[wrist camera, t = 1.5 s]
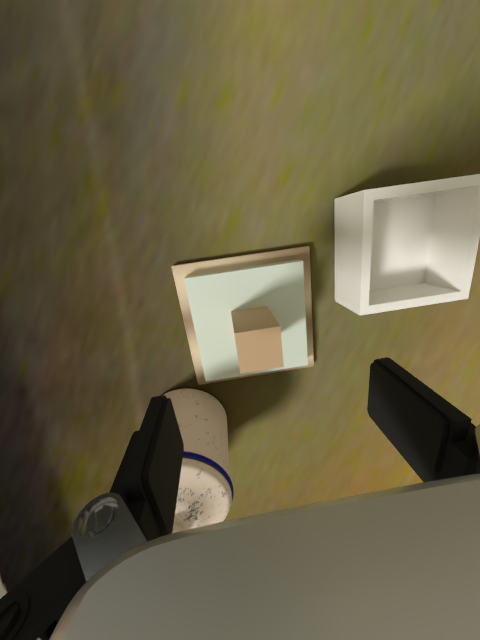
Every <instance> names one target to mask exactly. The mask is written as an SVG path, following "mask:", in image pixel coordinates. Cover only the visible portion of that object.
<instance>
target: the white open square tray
mask: <svg viewBox="0 0 480 640" xmlns="http://www.w3.org/2000/svg"><path fill="white" fill-rule="evenodd" d="M479 238H480V174H475V175H468V176H461V177H454V178H446V179H439V180H432V181H425V182H418V183H411V184H403V185H396V186H389V187H382V188H375V189H368V190H362V191H359V192H356V193H352V194H349V195H345V196H342V197H339V198H335V301H336V302H338V303H339V304H341V305H343V306H344V307H346V308H348V309H350V310H351V311H353V312H355V313H356V314H358V315H366V314H372V313H379V312H385V311H391V310H398V309H404V308H411V307H417V306H423V305H430V304H436V303H443V302H449V301H455V300H462V299H468V296H469V291H470V286H471V280H472V275H473V270H474V265H475V259H476V254H477V249H478V243H479Z"/></svg>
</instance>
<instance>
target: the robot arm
mask: <svg viewBox="0 0 480 640" xmlns="http://www.w3.org/2000/svg"><path fill="white" fill-rule="evenodd" d="M367 409H368V414H369V416H370V417H371V419H372V420H373V421H374V422H375V423H376V425H377V426H378V427H379V428H380V430H381V431H382V432H383V433H384V434H385V436H386V437H387V438H388V439H389V441H390V442H391V443H392V444H393V445H394V447H395V448H396V449H397V450H398V451H399V453H400V454H401V455H402V456H403V458H404V459H405V460H406V461H407V462H408V464H409V465H410V466H411V467H412V469H413V470H414V471H415V472H416V473H417V475H418V476H419V477H420V478H421V480H422V481H423V482H424V483H419V484H414V485H408V486H403V487H397V488H392V489H387V490H381V491H376V492H371V493H365V494H360V495H355V496H350V497H345V498H339V499H334V500H329V501H324V502H319V503H314V504H308V505H303V506H298V507H293V508H288V509H283V510H278V511H273V512H268V513H263V514H258V515H253V516H248V517H243V518H238V519H233V520H228V521H223V522H219V523H214V524H210V525H205V526H201V527H196V528H191V529H187V530H183V531H179V532H175V533H172V531H173V524H174V517H175V510H176V503H177V495H178V488H179V481H180V474H181V467H182V459H183V452H184V444H183V440H182V436H181V433H180V429H179V426H178V422H177V419H176V415H175V412H174V408H173V405H172V401H171V399H170V398H167V397H166V396H165V395H163V396H157V397H152V398H151V400H150V403H149V406H148V409H147V411H146V414H145V417H144V419H143V422H142V425H141V427H140V430H139V431H135V432H134V433H133V435H132V437H131V440H130V442H129V445H128V447H127V450H126V452H125V455H124V457H123V460H122V462H121V465H120V467H119V470H118V472H117V475H116V477H115V480H114V482H113V485H112V487H111V490H110V492H109V493H105V494H102V495H100V496H98V497H96V498H95V499H93V500H92V501H90V502H89V503H88V504H87V505H86V506H85V507H84V508H83V509H82V510H81V512H80V513H79V514H78V516H77V518H76V520H75V521H74V524H73V528H72V537H71V538H70V539H68V540H67V541H66V542H65V543H64V544H63V545H62V546H60V547H59V548H58V549H57V550H56V551H55V552H54V553H52V554H51V555H50V556H49V557H48V558H47V559H46V560H44V561H43V562H42V563H41V564H40V565H39V566H38V567H36V568H35V569H34V570H33V571H32V572H31V573H30V574H28V575H27V576H26V577H25V578H24V579H23V580H22V581H20V582H19V583H18V584H17V585H16V586H15V587H14V588H12V589H11V590H10V591H9V592H8V593H7V594H6V595H4V596H3V597H2V598H1V599H0V640H480V425H478V426H477V427H476V426H474V425H473V424H472V423H471V420H472V419H470V418H469V417H468V416H466V415H465V414H464V413H462V412H461V411H460V410H458V409H457V408H456V407H454V406H453V405H452V404H450V403H449V402H448V401H446V400H445V399H444V398H442V397H441V396H440V395H438V394H437V393H436V392H434V391H433V390H432V389H430V388H429V387H428V386H426V385H425V384H424V383H422V382H421V381H420V380H418V379H417V378H416V377H414V376H413V375H412V374H410V373H409V372H408V371H406V370H405V369H403V368H402V367H401V366H399V365H398V364H397V363H395V362H394V361H393V360H391V359H390V358H381V359H376V360H374V362H373V363H372V364H371V366H370V379H369V394H368V408H367Z"/></svg>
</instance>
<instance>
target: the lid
mask: <svg viewBox="0 0 480 640" xmlns="http://www.w3.org/2000/svg"><path fill="white" fill-rule="evenodd" d="M184 282H185V287H186V292H187V296H188V301H189V306H190V310H191V315H192V320H193V324H194V329H195V334H196V339H197V343H198V348H199V353H200V357H201V362H202V367H203V371H204V376H205V381H206V382H208V381H214V380H220V379H226V378H232V377H238V376H245V375H251V374H257V373H263V372H269V371H276V370H282V369H288V368H294V367H300V366H306V365H308V356H307V334H306V311H305V289H304V267H303V261H302V260H292V261H285V262H279V263H272V264H265V265H258V266H252V267H245V268H238V269H231V270H224V271H218V272H211V273H204V274H197V275H191V276H185V278H184Z"/></svg>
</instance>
